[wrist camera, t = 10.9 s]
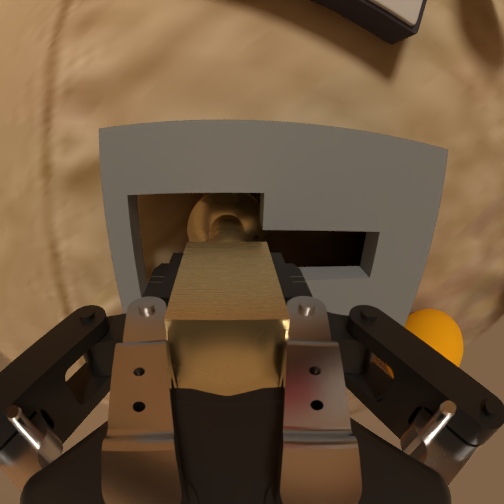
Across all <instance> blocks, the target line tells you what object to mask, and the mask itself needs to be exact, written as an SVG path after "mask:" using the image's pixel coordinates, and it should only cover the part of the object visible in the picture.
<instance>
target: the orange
mask: <svg viewBox="0 0 504 504" xmlns="http://www.w3.org/2000/svg"><path fill="white" fill-rule="evenodd" d="M404 327H405V328H406V329H408V330H409V331H410V332H412V333H413V334H414V335H416V336H417V337H418V338H420V339H421V340H423V341H424V342H425V343H427V344H428V345H429V346H431V347H432V348H433V349H435V350H436V351H437V352H439V353H440V354H441V355H443V356H444V357H445V358H447V359H448V360H449V361H451V362H452V363H453V364H455V365H456V366H457V367H459V366H460V362H461V359H462V356H463V339H462V334H461V331H460V329H459V327H458V325H457V324H456V323H455V322H454V320H453V319H452V318H451V317H450V316H449V315H447V314H446V313H444V312H442V311H439V310H435V309H423V310H418V311H415V312H413V313H411V314H409V316H408V318H407V321H406V324H405V326H404ZM386 366H387V369H388V371H389V373H390V374H391V376H392V378H394V375H393V371H392V369H391V368H390V367H389V366H388V365H387V364H386Z"/></svg>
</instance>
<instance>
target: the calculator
mask: <svg viewBox="0 0 504 504" xmlns="http://www.w3.org/2000/svg"><path fill="white" fill-rule="evenodd" d="M312 1H314V2H317V3H319V4H321V5H324V6H326V7H328V8H330V9H332V10H335V11H337V12H338V13H340V14H341V15H342V16H343V17H345V18H347V19H349V20H350V21H352V22H354V23H356V24H358V25H359V26H361V27H363V28H365V29H366V30H368V31H370V32H371V33H373V34H375V35H376V36H378V37H380V38H381V39H383V40H384V41H386V42H387V43H389V44H394V43H396V42H399V41H401V40H403V39H405V38H408V37H410V36H412V35H415V34H416V33H417V32H418V29H419V26H420V22H421V19H422V15H423V12H424V8H425V5H426V1H427V0H312Z"/></svg>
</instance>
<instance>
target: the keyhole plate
mask: <svg viewBox="0 0 504 504" xmlns="http://www.w3.org/2000/svg"><path fill="white" fill-rule="evenodd" d="M99 150H100V167H101V180H102V191H103V201H104V209H105V217H106V225H107V232H108V238H109V245H110V250H111V256H112V262H113V267H114V272H115V277H116V282H117V287H118V291H119V296H120V300H121V304H122V308H123V312H124V314H125V313H127V308H128V306H129V304H130V303H131V302H133V301H134V300H136V299H139V298H142V297H143V294H144V292H145V290H146V287H147V278H146V272H145V265H144V258H143V250H142V242H141V234H140V224H139V214H138V203H137V195H141V194H167V193H261V194H260V217H259V220H260V223H261V226H262V229H263V230H313V231H364V232H366V237H365V243H364V248H363V253H362V258H361V263H360V266H333V267H298V268H299V269H300V270H301V272H302V274H303V277H304V278H305V281H306V283H307V285H308V287H309V289H310V292H311V294H312V296H313V298H316V299H318V300H320V301H322V302H323V303H324V304H325V306H326V309H327V312H330V313H334V314H340V315H347V316H349V312H350V310H351V309H352V308H353V307H355V306H357V305H370V306H373V307H376V308H378V309H380V310H381V311H383V312H384V313H385V314H387V315H388V316H390V317H391V318H392V319H394V320H395V321H396V322H398V323H399V324H401V325H402V326H403V327H404V326H405V324H406V321H407V318H408V316H409V313H410V310H411V308H412V305H413V302H414V299H415V296H416V293H417V290H418V287H419V284H420V281H421V278H422V274H423V271H424V268H425V264H426V261H427V257H428V254H429V250H430V246H431V242H432V238H433V234H434V230H435V226H436V221H437V217H438V212H439V207H440V202H441V196H442V191H443V185H444V178H445V172H446V164H447V156H448V149H445V148H441V147H437V146H433V145H429V144H425V143H421V142H417V141H412V140H408V139H403V138H399V137H394V136H389V135H384V134H378V133H372V132H367V131H360V130H354V129H347V128H340V127H332V126H324V125H315V124H305V123H293V122H279V121H260V120H185V121H166V122H152V123H141V124H131V125H122V126H114V127H107V128H100V129H99Z"/></svg>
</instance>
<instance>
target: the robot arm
mask: <svg viewBox="0 0 504 504" xmlns="http://www.w3.org/2000/svg"><path fill="white" fill-rule="evenodd" d="M270 254H271V257H272V261H273V264H274V267H275V270H276V274H277V277H278V280H279V283H280V287H281V290H282V293H283V297H284V300H285V303H286V306H287V310H288V313H289V316H290V323H289V330H286V332H285V339H284V353H283V364H282V371H281V377H280V378H279V380H278V386H277V387H272V388H261V389H257V390H253V391H249V392H245V393H241V394H236V395H232V396H223V395H218V394H213V393H209V392H204V391H200V390H195V389H191V388H179V386H178V381H177V379H176V377H175V373H174V368H173V364H172V359H171V354H170V342H169V337H168V331H166V328H165V322H164V317H165V314H166V310H167V307H168V303H169V300H170V296H171V293H172V289H173V286H174V283H175V279H176V276H177V273H178V269H179V266H180V263H181V260H182V256H183V253H173V255H172V257H171V260H170V263H169V264H166V263H162V264H160V265H159V266H158V267H157V268H155V269H154V271H153V274H152V277H151V278H150V280H149V283H148V285H147V287H146V290H145V292H144V294H143V297H142V298H139V299H136V300H134V301H133V302H131V303H130V304H129V306H128V308H127V313H125V314H121V315H115V316H109V317H106V313H105V311H104V309H103V308H101V307H99V306H95V305H89V306H84V307H81V308H79V309H77V310H76V311H74V312H73V313H72V314H70V315H69V316H68V317H67V318H65V319H64V320H63V321H61V322H60V323H59V324H58V325H56V326H55V327H54V328H53V329H51V330H50V331H49V332H48V333H46V334H45V335H44V336H43V337H41V338H40V339H39V340H38V341H36V342H35V343H34V344H33V345H32V346H30V347H29V348H28V349H27V350H26V351H24V352H23V353H22V354H21V355H20V356H18V357H17V358H16V359H15V360H14V361H13V362H11V363H10V364H9V365H8V366H7V367H6V368H5V369H3V370H2V371H1V372H0V468H1V469H2V471H3V472H4V473H5V474H6V475H7V477H8V478H9V479H10V480H11V481H12V482H13V484H14V485H15V486H16V487H17V488H18V489H19V490H20V491H21V492H22V493H21V497H20V504H451V494H450V490H449V487H448V485H449V484H450V482H451V481H452V480H453V479H454V478H455V476H456V475H457V474H458V473H459V471H460V470H461V469H462V468H463V466H464V465H465V464H466V462H467V461H468V460H469V458H470V457H471V456H472V454H473V453H475V452H476V451H477V449H479V448H480V447H481V446H482V445H483V444H484V443H485V442H486V441H487V440H488V439H489V438H490V437H491V436H492V435H493V434H494V433H495V432H496V431H497V430H498V429H499V428H500V427H501V426H502V425H503V423H504V405H503V403H502V402H501V400H500V399H498V397H496V396H495V395H494V394H492V393H491V392H490V391H489V390H487V389H486V388H485V387H484V386H482V385H481V384H480V383H478V382H477V381H476V380H474V379H473V378H472V377H470V376H469V375H468V374H466V373H465V372H464V371H462V370H461V369H460V368H459V367H457V366H456V365H455V364H453V363H452V362H451V361H449V360H448V359H447V358H445V357H444V356H443V355H441V354H440V353H439V352H437V351H436V350H435V349H433V348H432V347H431V346H429V345H428V344H427V343H425V342H424V341H423V340H421V339H420V338H418V337H417V336H416V335H414V334H413V333H412V332H410V331H409V330H408V329H406V328H405V327H403V326H402V325H401V324H399V323H398V322H396V321H395V320H394V319H392V318H391V317H390V316H388V315H387V314H385V313H384V312H383V311H381V310H380V309H378V308H376V307H373V306H370V305H357V306H355V307H353V308H352V309H351V310H350V312H349V316H347V315H340V314H334V313H330V312H327V309H326V306H325V304H324V303H323V302H322V301H320V300H318V299H316V298H313V296H312V294H311V292H310V289H309V287H308V285H307V283H306V281H305V278H304V277H303V274H302V272H301V270H300V269H299V268H298V267H297V266H296V265H294V264H293V263H285V261H284V259H283V256H282V254H281V253H270ZM82 355H83V356H84V359H85V361H86V363H85V364H84V365H83V366H82V367H81V368H80V369H79V370H78V371H77V372H76V373H75V374H74V375H73V376H72V377H71V378H70V379H69V380H67V381H65V374H66V372H67V370H68V369H69V368H70V367H71V366H72V365H73V364H74V363H75V362H76V361H77V360H78V359H79V358H80V357H81V356H82ZM374 355H376V356H377V357H379V358H380V359H381V360H382V361H383V362H384V363H386V364H387V365H388V366H389V367H390V368H391V369H392V371H393V375H394V378H393V379H392V378H391V377H390V376H388V375H387V374H386V373H385V372H384V371H383V370H381V369H380V368H379V367H378V366H377V365H376V364H375V363H373V362H372V360H373V357H374ZM346 387H347V388H348V389H349V390H350V391H351V392H352V393H353V394H354V395H355V396H356V397H357V398H358V399H359V400H360V401H361V402H362V403H363V404H364V405H365V406H366V407H367V408H368V409H369V410H370V411H371V412H372V413H373V414H374V415H375V416H376V417H377V418H378V419H380V420H381V421H382V422H383V423H384V424H385V425H386V426H387V427H388V428H389V429H390V430H391V431H392V432H393V433H394V434H395V435H396V436H397V437H398V438H399V439H400V440H401V441H400V442H401V448H402V450H400V449H398V448H396V447H395V446H393V445H392V444H390V443H388V442H387V441H385V440H384V439H382V438H380V437H379V436H377V435H376V434H374V433H373V432H371V431H370V430H368V429H367V428H365V427H364V426H362V425H361V424H359V423H358V422H356V421H355V420H353V419H352V418H350V415H349V408H348V400H347V393H346ZM109 391H110V397H109V411H108V421H106V422H105V423H104V424H102V425H101V426H100V427H99V428H97V429H96V430H95V431H93V432H92V433H91V434H89V435H88V436H87V437H85V438H84V439H83V440H81V441H80V442H79V443H77V444H76V445H75V446H73V447H72V448H71V449H69V450H68V451H66V452H65V453H64V454H62V451H63V446H62V444H63V443H64V442H65V441H66V440H67V438H68V437H69V436H70V435H71V434H72V433H73V432H74V430H75V429H76V428H77V427H78V426H79V425H80V424H81V423H82V422H83V420H84V419H85V418H86V417H87V416H88V415H89V414H90V412H91V411H92V410H93V409H94V408H95V407H96V406H97V405H98V404H99V402H100V401H101V400H102V399H103V398H104V397H105V396H106V395H107V393H108V392H109Z"/></svg>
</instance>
